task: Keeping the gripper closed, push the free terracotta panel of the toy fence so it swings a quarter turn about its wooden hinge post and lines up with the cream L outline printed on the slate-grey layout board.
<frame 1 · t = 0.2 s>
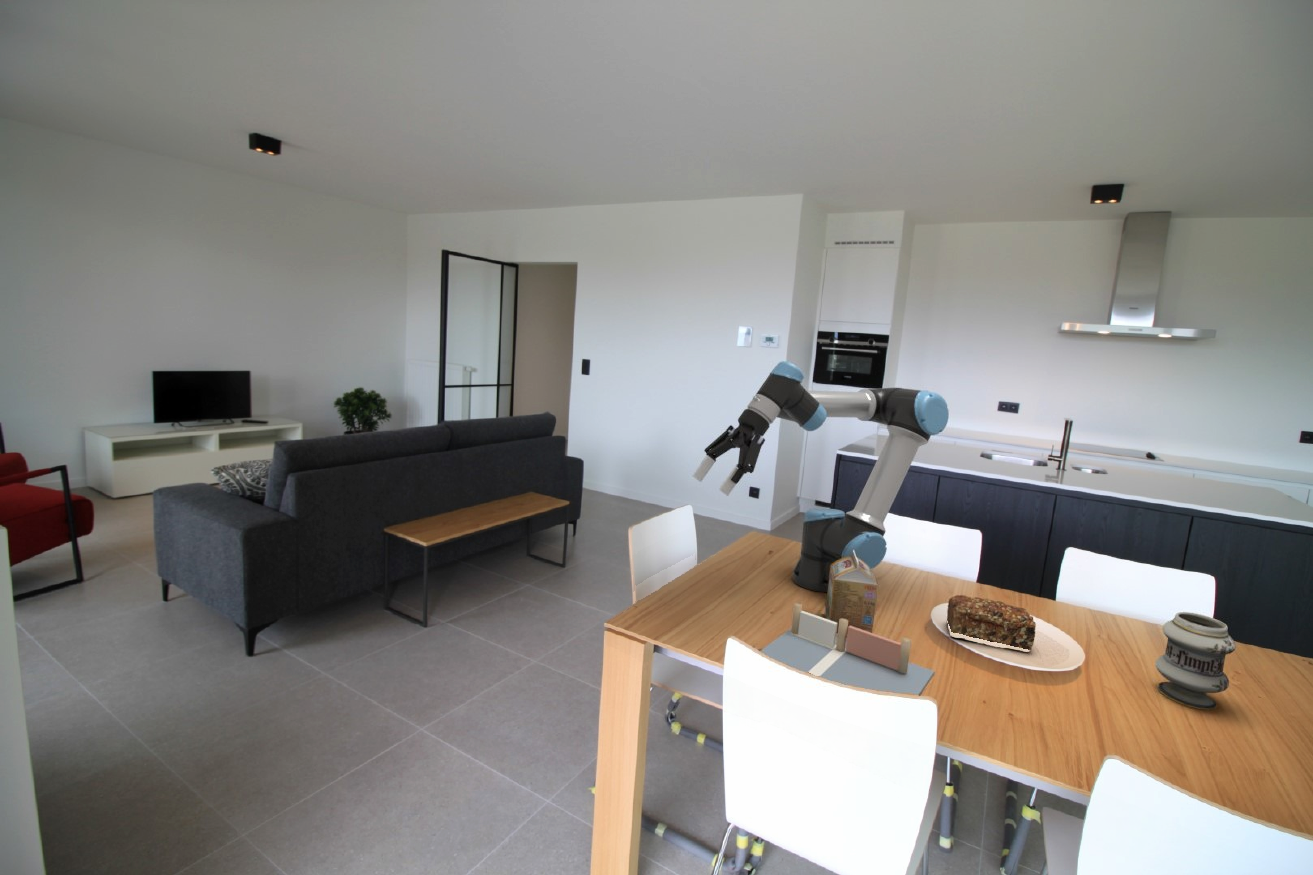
hand: (709, 485, 148), 36 cm above the table, tool tilted 35°, fingers open, 13 cm apart
bread: (986, 639, 154), on the table
layout board: (844, 664, 136), on the table
apothecary jar: (1185, 697, 132), on the table
fence panel: (877, 645, 136), point 5 cm above the table, hinge at 0.0°
fence fixed: (840, 651, 142), resting on layout board
milk carton: (847, 626, 156), on the table
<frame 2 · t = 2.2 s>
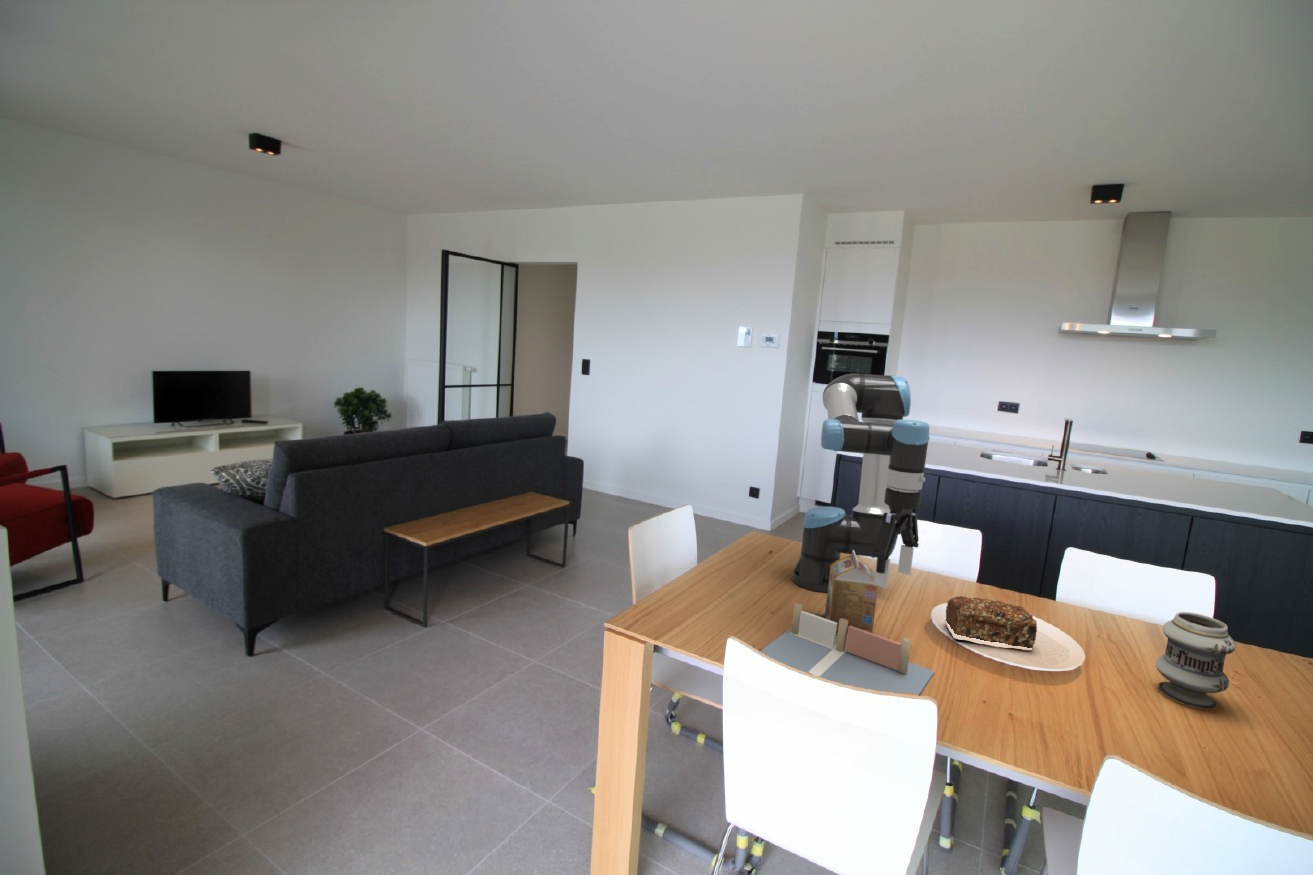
hand: (892, 579, 137), 19 cm above the table, tool pointing down, fingers open, 13 cm apart
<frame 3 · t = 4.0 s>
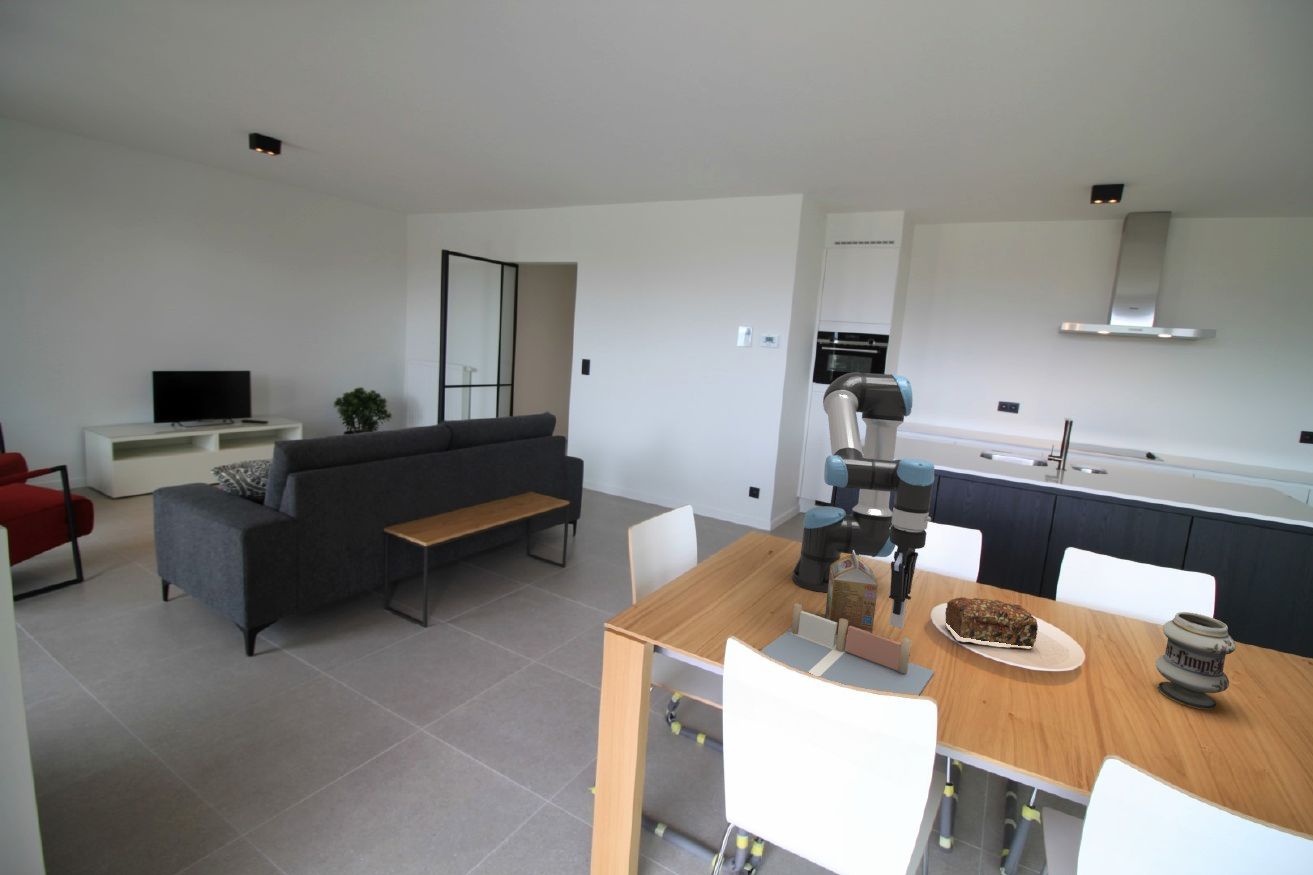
hand: (896, 625, 139), 8 cm above the table, tool pointing down, fingers closed
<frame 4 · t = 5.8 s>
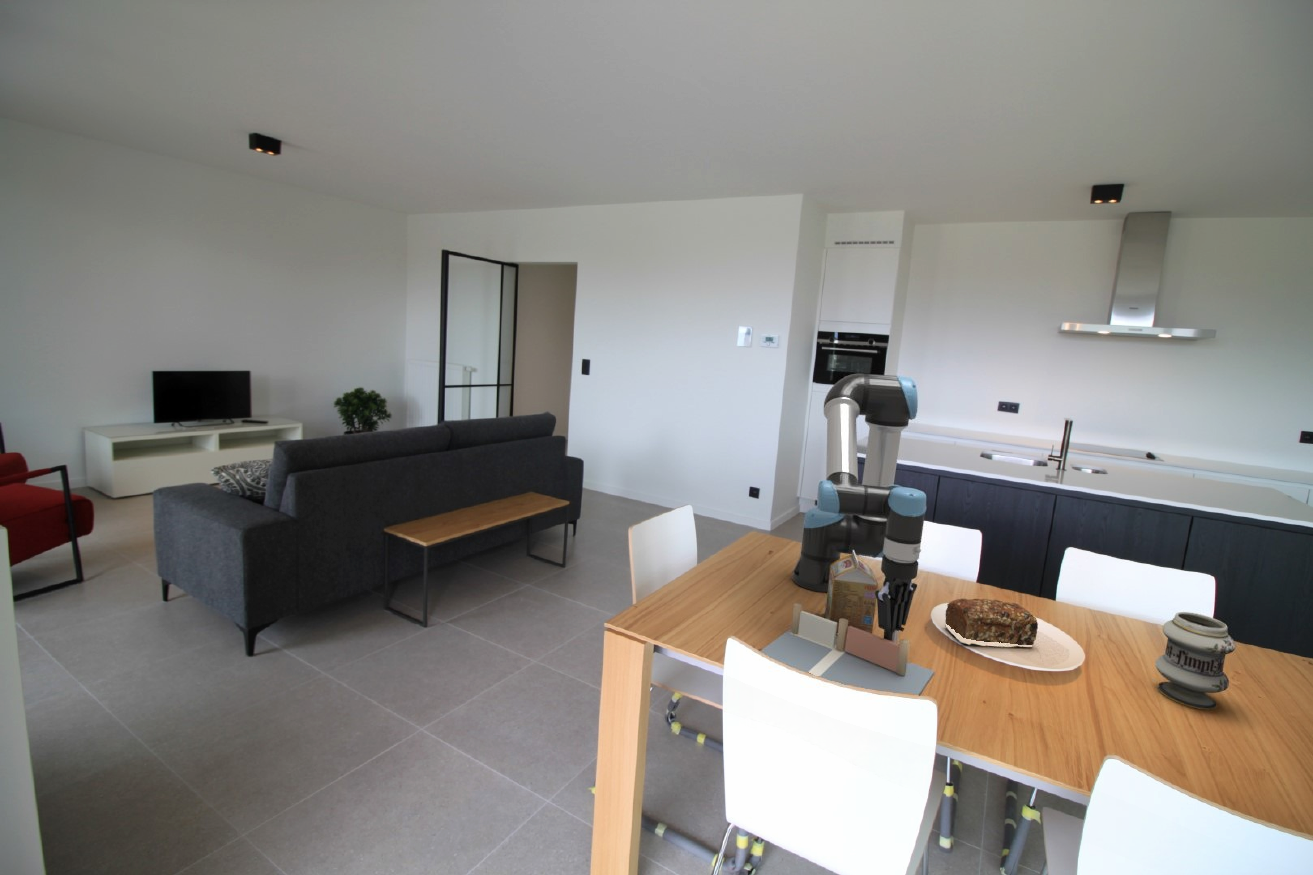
hand: (888, 655, 137), 2 cm above the table, tool pointing down, fingers closed
fence panel: (876, 646, 136), point 5 cm above the table, hinge at 4.0°, touching gripper
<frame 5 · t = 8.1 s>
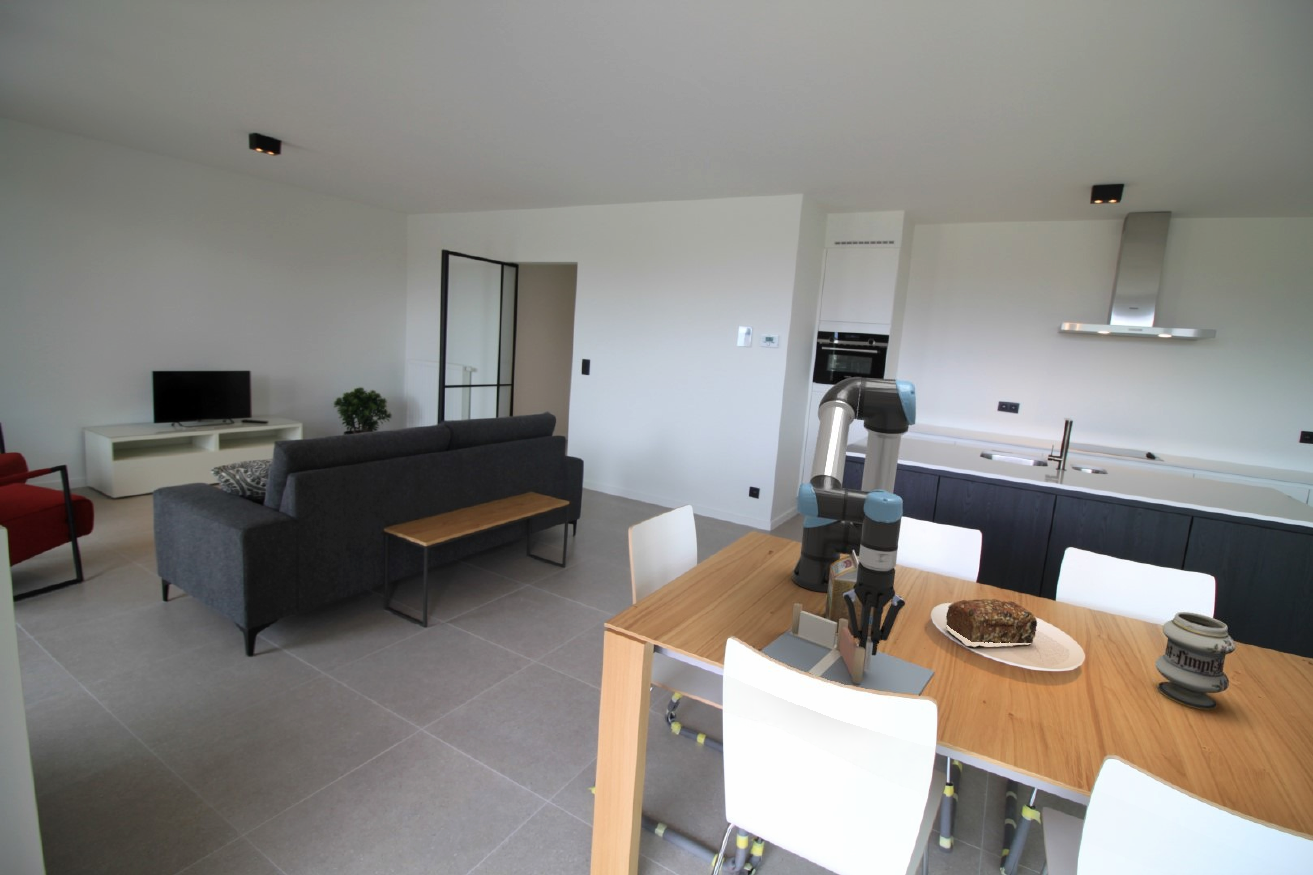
hand: (865, 667, 132), 2 cm above the table, tool pointing down, fingers closed
fence panel: (851, 651, 133), point 5 cm above the table, hinge at 55.1°, touching gripper
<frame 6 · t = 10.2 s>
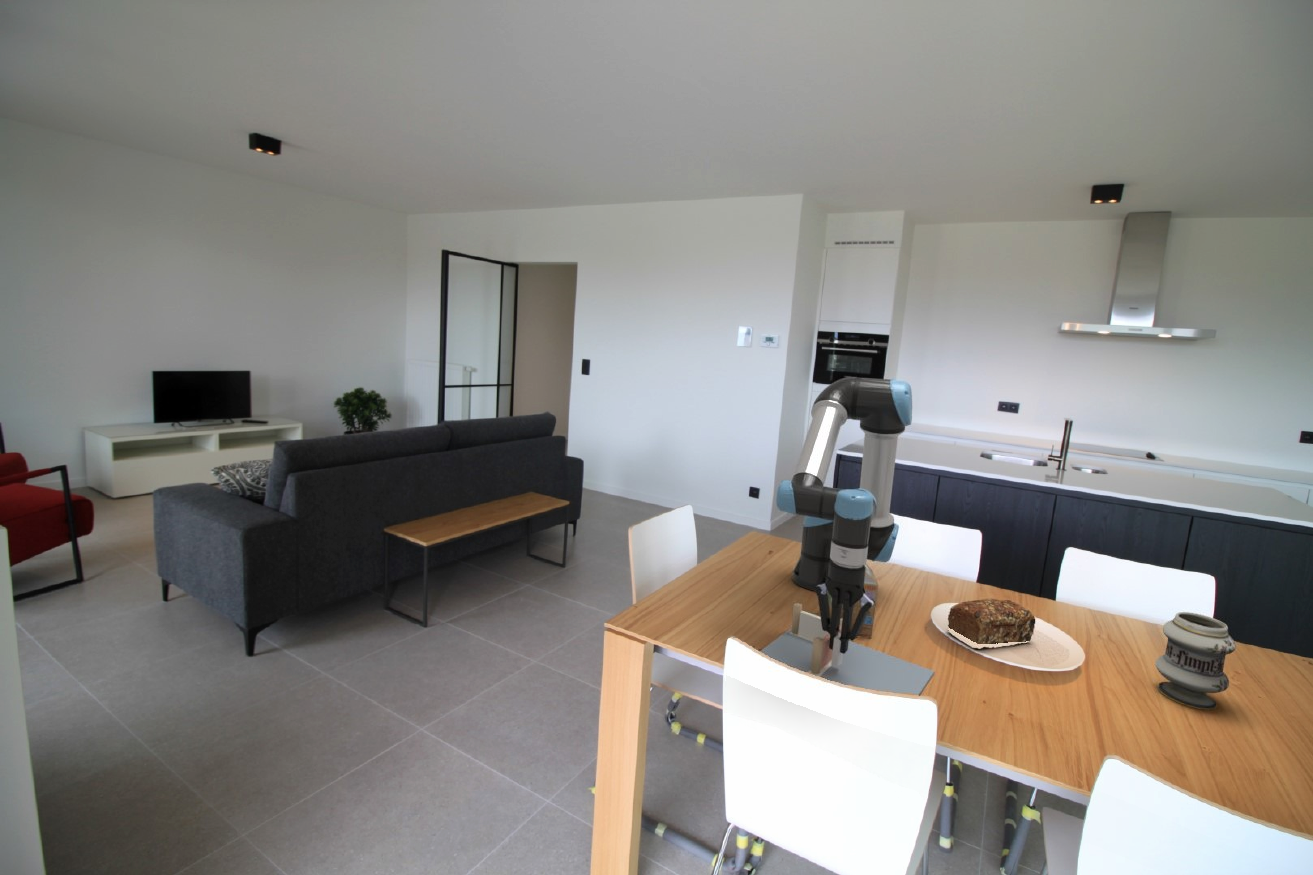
hand: (836, 664, 132), 2 cm above the table, tool pointing down, fingers closed
fence panel: (827, 645, 135), point 5 cm above the table, hinge at 90.5°, touching gripper
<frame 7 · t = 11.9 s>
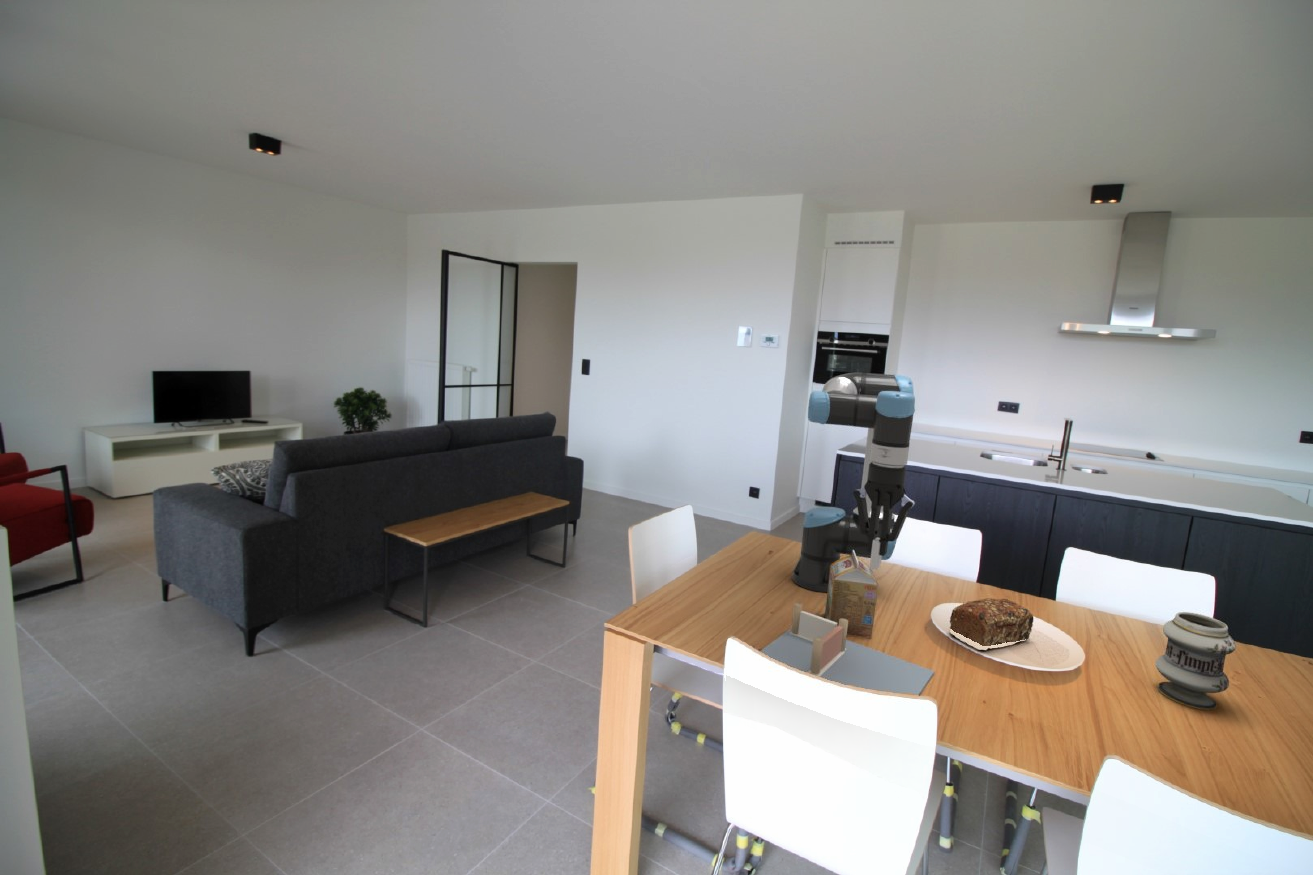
hand: (874, 567, 133), 23 cm above the table, tool pointing down, fingers closed
fence panel: (827, 645, 135), point 5 cm above the table, hinge at 90.6°
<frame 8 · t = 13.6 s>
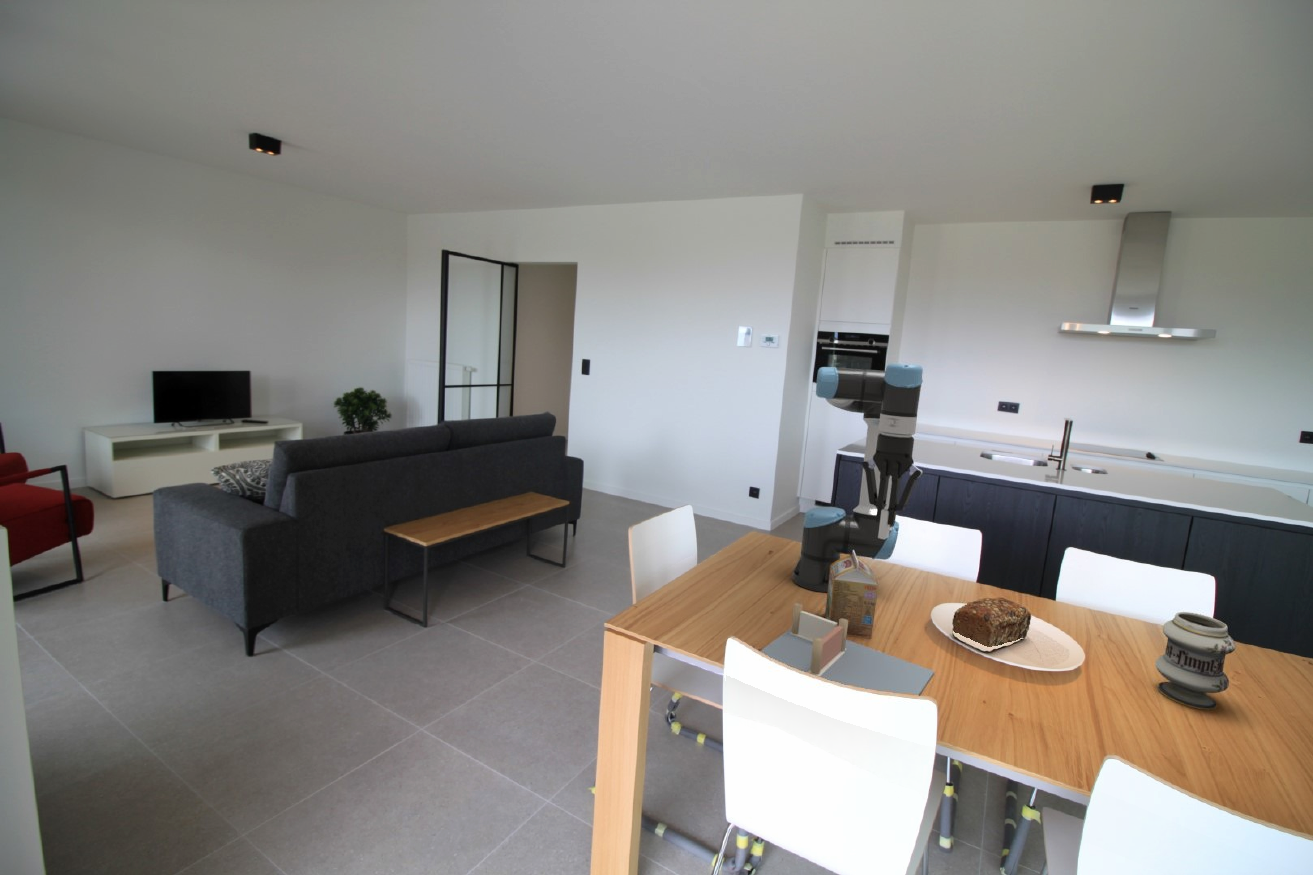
hand: (883, 537, 135), 29 cm above the table, tool pointing down, fingers closed
at the end: fence panel at +91° (first picture: +0°) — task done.
